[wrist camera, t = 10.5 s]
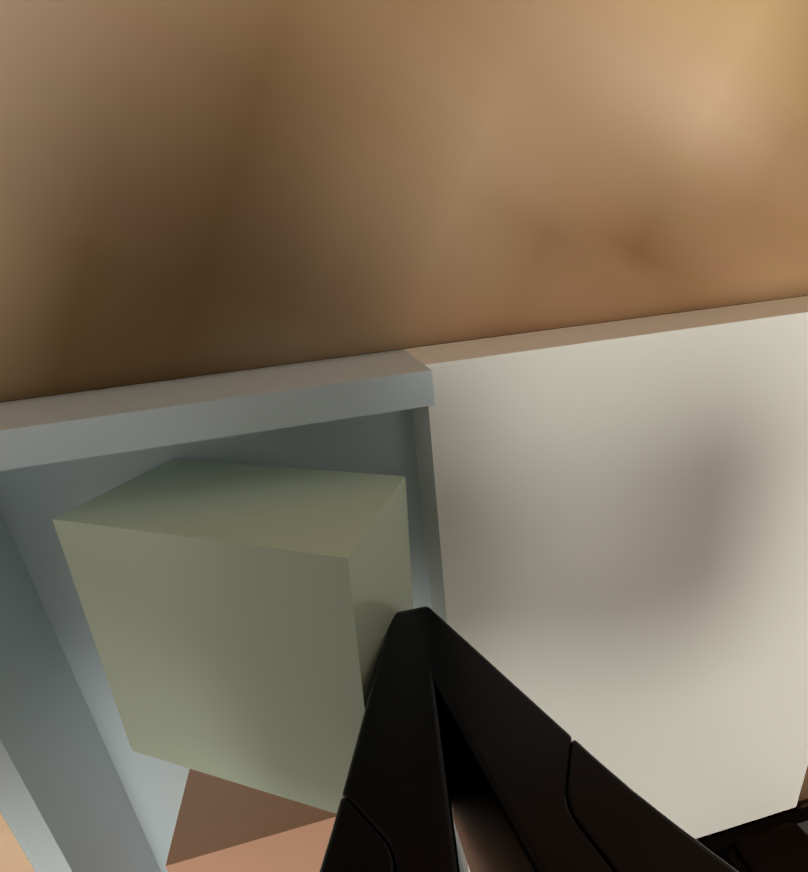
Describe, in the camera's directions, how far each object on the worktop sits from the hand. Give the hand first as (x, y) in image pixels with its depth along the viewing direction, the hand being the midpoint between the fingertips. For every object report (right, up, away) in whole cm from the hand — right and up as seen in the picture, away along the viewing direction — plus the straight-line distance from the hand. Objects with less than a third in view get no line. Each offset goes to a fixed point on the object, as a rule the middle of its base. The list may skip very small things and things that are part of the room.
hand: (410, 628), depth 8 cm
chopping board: (+6, -1, +5) cm, 8 cm away
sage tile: (-2, 0, +1) cm, 3 cm away
